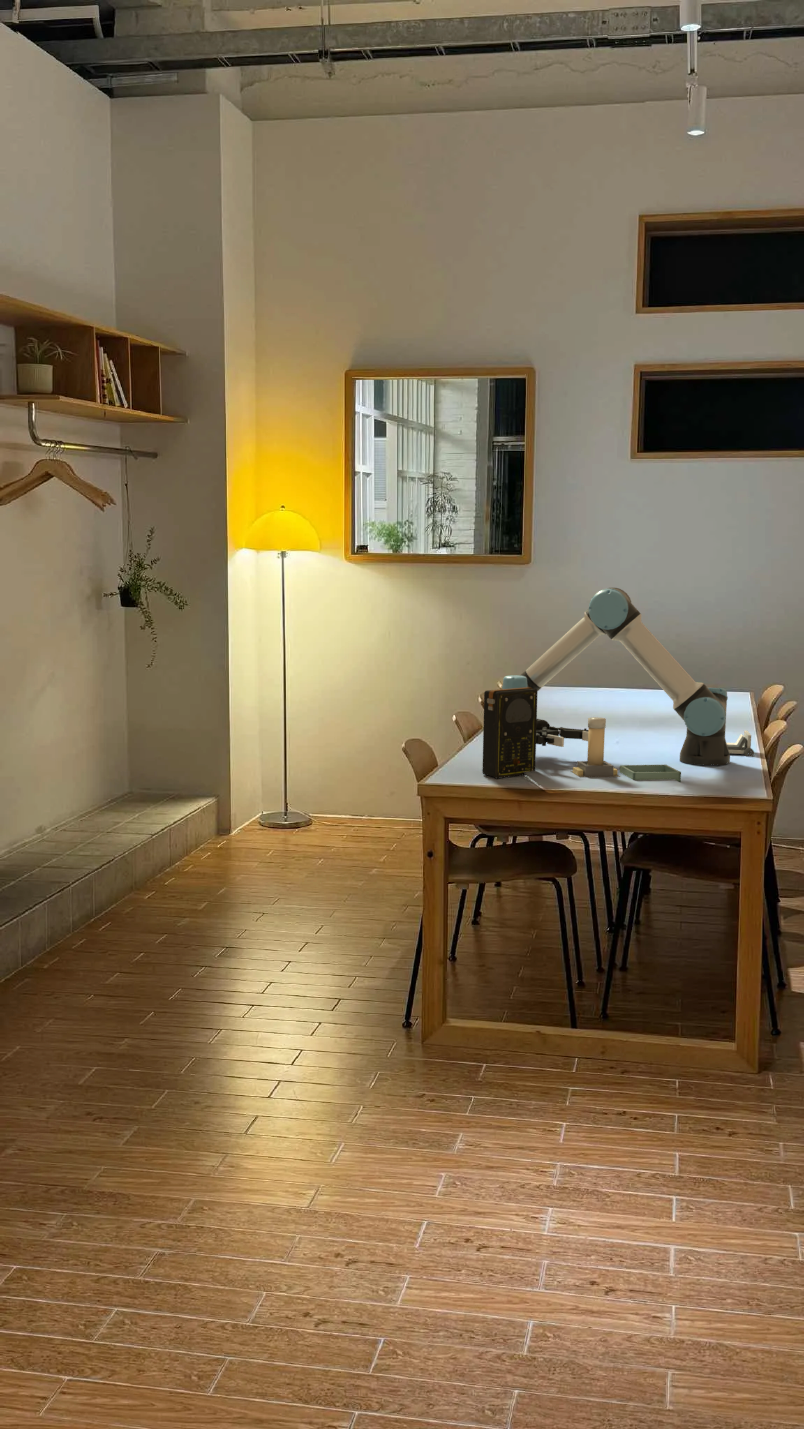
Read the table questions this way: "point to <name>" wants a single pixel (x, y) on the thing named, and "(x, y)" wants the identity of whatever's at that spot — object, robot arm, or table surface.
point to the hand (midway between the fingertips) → (580, 740)
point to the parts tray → (650, 772)
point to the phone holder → (742, 745)
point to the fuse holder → (594, 770)
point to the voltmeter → (509, 732)
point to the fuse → (596, 741)
